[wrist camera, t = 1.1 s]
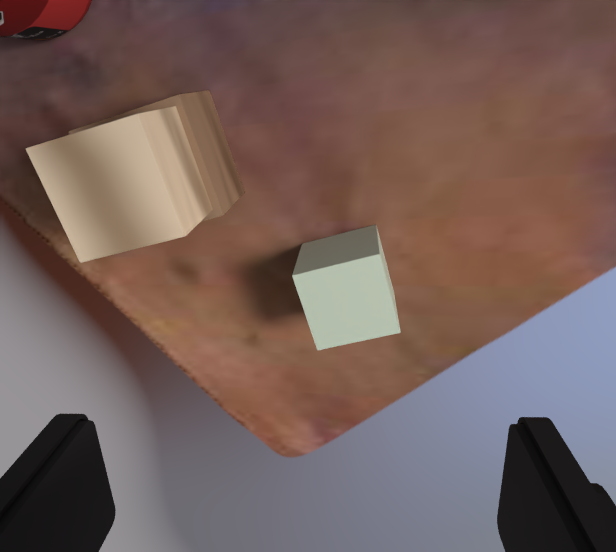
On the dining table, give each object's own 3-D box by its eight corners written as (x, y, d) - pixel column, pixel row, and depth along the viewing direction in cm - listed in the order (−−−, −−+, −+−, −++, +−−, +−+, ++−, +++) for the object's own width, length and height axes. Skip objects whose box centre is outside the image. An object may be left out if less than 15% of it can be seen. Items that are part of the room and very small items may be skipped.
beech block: (175, 106, 26) (138, 113, 22) (212, 209, 29) (185, 236, 24) (80, 135, 28) (25, 148, 23) (122, 233, 30) (80, 262, 25)
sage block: (376, 224, 34) (379, 253, 29) (393, 292, 36) (400, 332, 31) (302, 243, 35) (292, 275, 30) (323, 308, 37) (317, 350, 32)
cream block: (209, 90, 32) (179, 94, 26) (245, 191, 34) (223, 215, 29) (116, 121, 33) (68, 131, 28) (156, 216, 36) (119, 243, 30)
